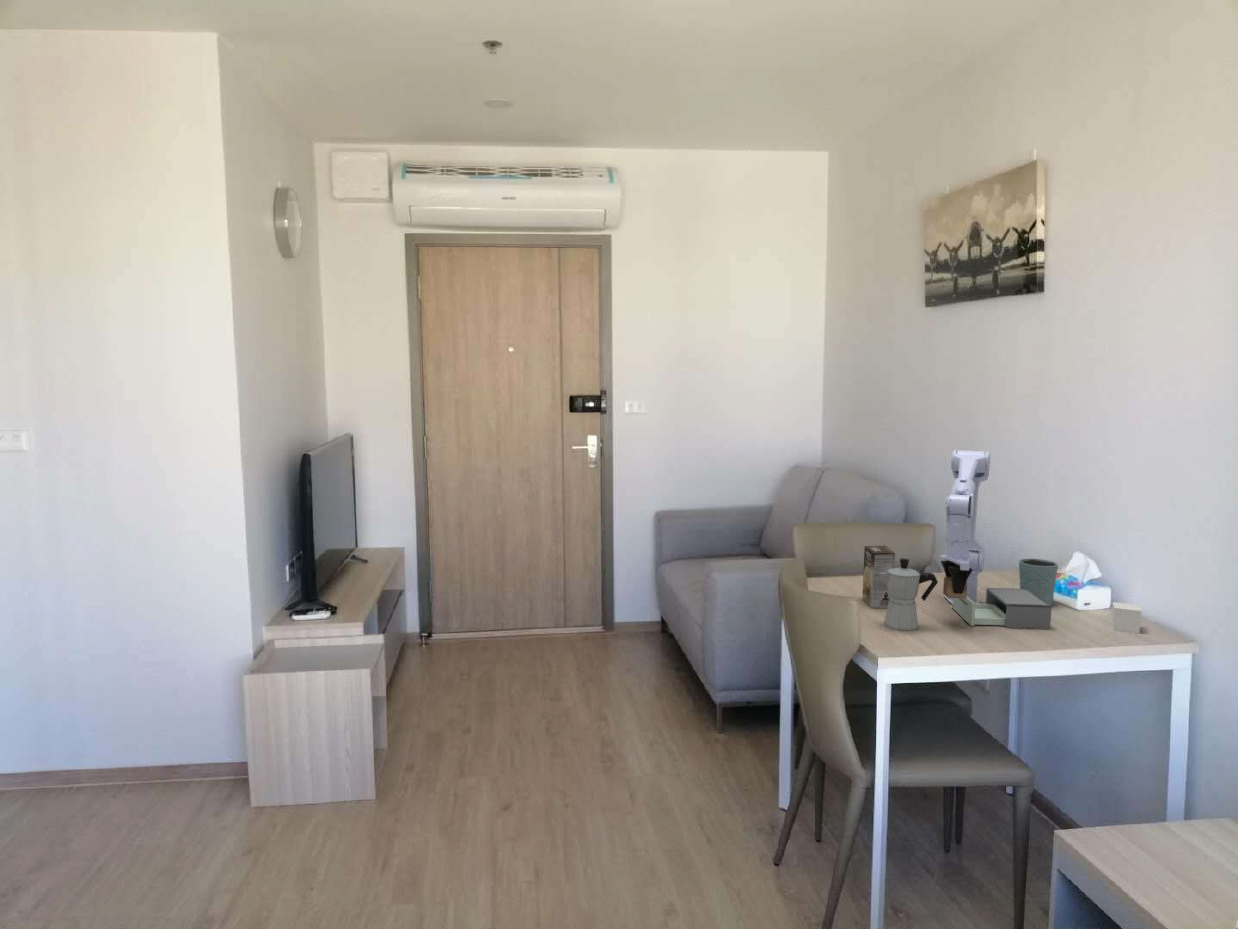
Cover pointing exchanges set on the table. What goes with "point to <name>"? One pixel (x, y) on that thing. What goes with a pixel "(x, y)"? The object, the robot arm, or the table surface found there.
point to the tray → (979, 612)
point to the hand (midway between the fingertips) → (954, 590)
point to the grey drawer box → (1021, 607)
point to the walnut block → (949, 589)
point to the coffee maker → (904, 595)
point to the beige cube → (1126, 617)
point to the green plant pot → (1038, 577)
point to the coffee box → (876, 575)
